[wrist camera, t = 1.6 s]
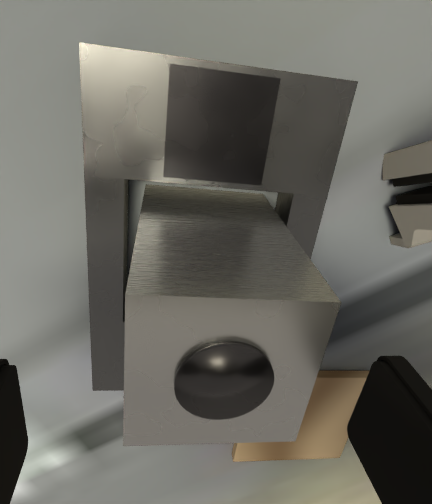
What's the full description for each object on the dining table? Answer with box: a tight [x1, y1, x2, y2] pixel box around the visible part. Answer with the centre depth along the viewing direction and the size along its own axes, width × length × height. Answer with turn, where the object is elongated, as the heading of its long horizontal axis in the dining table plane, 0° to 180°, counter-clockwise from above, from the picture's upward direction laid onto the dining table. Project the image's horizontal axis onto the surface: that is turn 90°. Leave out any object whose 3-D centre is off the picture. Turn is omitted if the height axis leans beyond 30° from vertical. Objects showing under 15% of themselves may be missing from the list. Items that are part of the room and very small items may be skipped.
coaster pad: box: [232, 371, 369, 462], centre depth 25 cm, size 8×8×1 cm
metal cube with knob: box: [123, 184, 341, 446], centre depth 14 cm, size 6×6×9 cm
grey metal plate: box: [79, 43, 358, 391], centre depth 17 cm, size 10×16×2 cm, turn 173°
